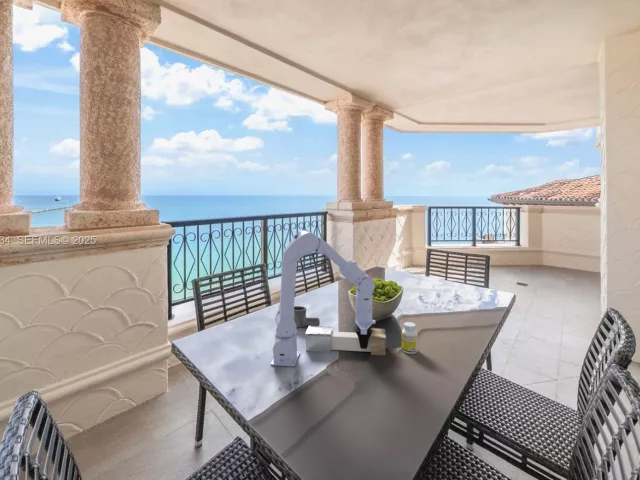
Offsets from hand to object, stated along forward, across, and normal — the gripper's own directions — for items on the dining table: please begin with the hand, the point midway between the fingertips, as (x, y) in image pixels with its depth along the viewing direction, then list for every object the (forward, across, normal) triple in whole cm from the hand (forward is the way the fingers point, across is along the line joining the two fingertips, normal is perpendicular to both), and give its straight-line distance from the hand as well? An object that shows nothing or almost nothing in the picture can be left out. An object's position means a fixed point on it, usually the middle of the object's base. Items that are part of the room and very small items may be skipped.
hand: (363, 345), depth 115 cm
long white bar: (+1, 0, +4) cm, 4 cm away
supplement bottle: (+2, +1, -16) cm, 16 cm away
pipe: (+2, +18, +25) cm, 31 cm away
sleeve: (+2, 0, +16) cm, 16 cm away
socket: (+2, 0, -5) cm, 5 cm away
